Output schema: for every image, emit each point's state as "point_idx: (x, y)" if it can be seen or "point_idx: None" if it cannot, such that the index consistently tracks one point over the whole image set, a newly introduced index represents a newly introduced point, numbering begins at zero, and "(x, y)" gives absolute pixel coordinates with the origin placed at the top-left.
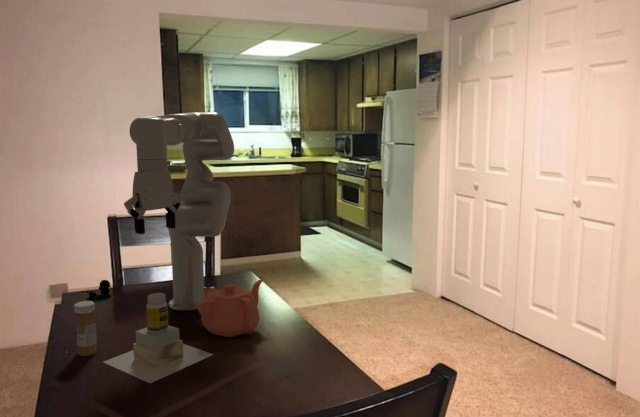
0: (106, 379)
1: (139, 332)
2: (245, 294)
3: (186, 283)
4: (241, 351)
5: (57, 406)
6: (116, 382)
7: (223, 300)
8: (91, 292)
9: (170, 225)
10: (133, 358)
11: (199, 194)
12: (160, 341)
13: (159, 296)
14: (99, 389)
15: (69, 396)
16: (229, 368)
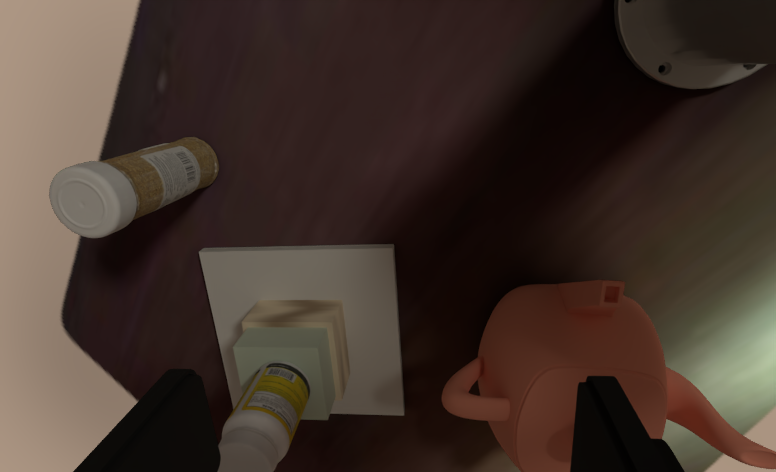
0: (186, 311)
1: (236, 361)
2: None
3: (714, 38)
4: (473, 430)
5: (83, 333)
6: (197, 338)
7: (512, 454)
8: None
9: (581, 465)
10: (261, 292)
11: None
12: None
13: None
14: (161, 336)
15: (108, 317)
16: (393, 460)
